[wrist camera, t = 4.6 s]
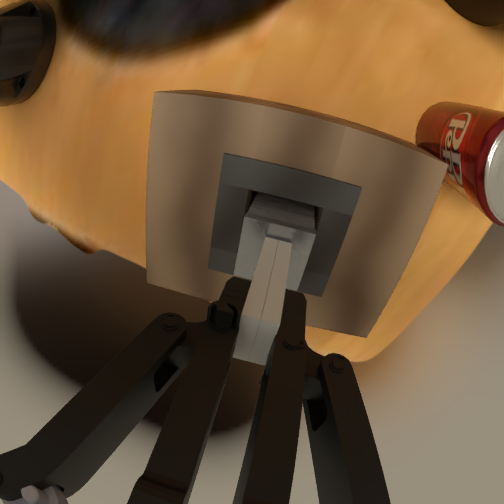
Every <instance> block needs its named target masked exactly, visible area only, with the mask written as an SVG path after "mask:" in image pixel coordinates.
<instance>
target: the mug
mask: <svg viewBox="0 0 504 504" xmlns="http://www.w3.org/2000/svg"><path fill="white" fill-rule="evenodd" d="M446 1H447V2H448V3H449V4H450V5H451V6H452V7H453V8H454V9H455V10H456V11H457V12H459V13H460V14H461V15H463V16H464V17H466V18H467V19H469V20H471V21H473V22H476V23H478V24H481V25H486V26H494V25H499V24H504V0H446Z"/></svg>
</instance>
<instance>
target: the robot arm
mask: <svg viewBox="0 0 504 504" xmlns="http://www.w3.org/2000/svg"><path fill="white" fill-rule="evenodd" d="M55 32H56V25H55V17H54V13H53V11H52V9H51V7H50V6H49V5H48V4H47V3H46V2H44V1H40V0H22V1H19V2H16V3H13V4H10V5H7V6H4V7H1V8H0V106H10V105H14V104H18V103H21V102H23V101H25V100H26V99H27V98H29V97H30V96H31V95H32V94H33V92H34V91H35V90H36V89H37V87H38V86H39V84H40V82H41V81H42V79H43V77H44V75H45V73H46V70H47V68H48V65H49V62H50V59H51V56H52V52H53V48H54V42H55ZM278 241H279V242H278ZM277 245H278V246H277ZM291 247H292V243H288V242H284V241H281V240H277V239H273V238H269V237H265V240H264V244H263V247H262V250H261V253H260V257H259V260H258V263H257V266H256V269H255V273H254V276H253V279H252V281H250V280H246V279H242V278H239V277H235V276H233V277H231V278H230V279H229V280H227V281H226V284H225V286H224V289H223V291H222V293H221V295H220V298H219V300H218V301H215V302H213V303H211V304H210V306H209V307H208V314H207V320H206V321H203V322H198V323H190V322H186V321H185V319H184V318H183V317H182V316H180V315H178V314H175V313H164V314H161V315H159V316H158V317H157V318H156V319H155V320H153V321H152V322H151V323H150V324H149V325H148V326H147V327H146V328H145V329H144V330H143V331H142V332H141V333H140V334H139V335H138V336H137V337H136V338H134V339H133V340H132V341H131V342H130V343H129V344H128V345H127V346H126V347H125V348H124V349H123V350H122V351H121V352H120V353H119V354H118V355H117V356H116V357H114V359H112V360H111V361H110V362H109V363H108V364H107V365H106V366H105V367H104V368H103V369H102V370H101V371H100V372H99V373H98V374H97V375H96V376H95V377H94V378H93V379H92V380H91V381H90V382H89V383H88V384H87V385H85V387H83V388H82V389H81V390H80V391H79V392H78V393H77V394H76V395H75V396H74V397H73V398H72V399H71V400H70V401H69V402H68V403H67V404H66V405H65V406H64V407H63V408H62V409H61V410H60V411H59V412H58V413H57V414H56V415H55V416H54V417H53V418H52V419H51V420H50V421H49V422H48V423H47V424H46V425H45V426H44V427H43V428H42V429H41V430H40V431H39V432H38V433H37V434H36V435H35V436H34V437H33V438H32V439H31V440H30V441H29V442H28V443H27V444H26V445H24V446H21V447H19V448H16V449H14V450H11V451H9V452H6V453H3V454H1V455H0V498H1V499H2V501H3V503H4V504H68V502H67V499H66V498H68V497H70V496H71V495H73V494H74V493H75V492H77V491H78V490H80V489H81V488H82V487H83V486H84V485H85V484H86V483H87V482H88V481H89V479H90V478H91V477H92V476H93V475H94V474H95V473H96V472H97V470H98V469H99V468H100V467H101V466H102V465H103V464H104V462H105V461H106V460H107V459H108V458H109V457H110V455H111V454H112V453H113V452H114V451H115V450H116V448H117V447H118V446H119V445H120V444H121V442H122V441H123V440H124V439H125V438H126V437H127V436H128V434H129V433H130V432H131V431H132V430H133V429H134V427H135V426H136V425H137V424H138V423H139V421H140V420H141V419H142V418H143V416H144V415H145V414H146V413H147V412H148V411H149V410H150V408H151V407H152V406H153V405H154V404H155V402H156V401H157V400H158V399H159V398H160V396H161V395H162V394H163V393H164V392H165V390H166V389H167V388H168V387H169V385H170V384H171V383H172V382H173V381H174V379H175V378H176V377H177V376H178V375H179V373H180V372H181V371H182V370H183V368H187V369H186V371H185V374H184V376H183V378H182V381H181V383H180V386H179V388H178V391H177V393H176V395H175V398H174V400H173V402H172V405H171V407H170V410H169V412H168V415H167V417H166V420H165V422H164V424H163V427H162V429H161V432H160V434H159V437H158V439H157V442H156V444H155V446H154V449H153V451H152V454H151V457H150V459H149V461H148V464H147V467H146V469H145V471H144V473H143V475H142V476H141V477H139V479H138V480H137V482H136V483H135V486H134V488H133V490H132V493H131V495H130V498H129V500H128V503H127V504H188V501H189V498H190V495H191V492H192V488H193V485H194V482H195V479H196V476H197V473H198V469H199V466H200V463H201V460H202V456H203V453H204V450H205V447H206V443H207V440H208V437H209V434H210V430H211V427H212V424H213V421H214V417H215V414H216V410H217V407H218V404H219V401H220V398H221V394H222V391H223V387H224V384H225V381H226V378H227V374H228V371H229V367H230V363H231V359H232V357H234V358H237V359H241V360H245V361H249V362H253V363H257V364H261V365H265V364H266V366H265V370H264V373H263V375H262V378H261V380H260V383H259V384H261V385H260V389H259V394H258V399H257V403H256V408H255V412H254V417H253V421H252V426H251V430H250V434H249V439H248V443H247V447H246V452H245V456H244V460H243V464H242V468H241V472H240V476H239V480H238V484H237V488H236V492H235V496H234V500H233V504H289V499H290V493H291V487H292V480H293V474H294V467H295V460H296V452H297V445H298V437H299V429H300V420H301V410H302V401H303V407H304V413H305V418H306V424H307V429H308V435H309V442H310V448H311V453H312V460H313V466H314V472H315V478H316V483H317V490H318V497H319V504H391V503H390V499H389V495H388V490H387V486H386V482H385V478H384V474H383V470H382V466H381V463H380V459H379V455H378V451H377V448H376V444H375V441H374V437H373V433H372V430H371V426H370V423H369V420H368V416H367V413H366V409H365V406H364V403H363V400H362V396H361V393H360V390H359V387H358V383H357V380H356V377H355V374H354V371H353V368H352V365H351V363H350V361H349V360H348V359H347V358H346V357H344V356H342V355H340V354H336V353H332V354H328V355H326V356H325V357H324V356H322V355H320V354H318V353H316V352H314V351H313V350H311V349H310V348H309V347H308V345H307V343H306V341H305V324H306V308H307V300H306V298H305V296H304V294H303V293H300V292H296V291H292V290H288V289H286V282H287V276H288V269H289V261H290V254H291ZM249 357H250V358H249Z"/></svg>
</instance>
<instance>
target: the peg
mask: <svg viewBox="0 0 504 504" xmlns="http://www.w3.org/2000/svg"><path fill="white" fill-rule="evenodd" d="M315 236H316V230H315V217H314V205H311V204H307V203H303V202H299V201H295V200H291V199H287V198H283V197H279V196H275V195H271V194H267V193H263V192H259V191H258V192H257V194H256V196H255V198H254V200H253V202H252V205H251V207H250V209H249V211H248V213H247V212H246V214H245V216H244V221H243V227H242V232H241V237H240V243H239V248H238V253H237V259H236V264H235V270H234V275H235V276H239V277H243V278H247V279H251V280H252V279H253V276H254V273H255V269H256V266H257V263H258V260H259V257H260V253H261V250H262V247H263V244H264V240H265V237H269V238H273V239H277V240H281V241H284V242H288V243H292V247H291V254H290V261H289V269H288V276H287V282H286V288H287V289H291V290H295V291H297V290H298V287H299V284H300V281H301V278H302V275H303V273H304V270H305V267H306V264H307V261H308V258H309V255H310V252H311V249H312V246H313V243H314V239H315ZM278 242H279V241H278ZM277 246H278V245H277Z"/></svg>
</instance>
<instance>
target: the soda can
mask: <svg viewBox="0 0 504 504" xmlns="http://www.w3.org/2000/svg"><path fill="white" fill-rule="evenodd" d="M417 146H418V147H420V148H421V149H423V150H425V151H427V152H428V153H430V154H432V155H433V156H435V157H437V158H438V159H440V160H442V161H443V162H445V163H447V164H448V168H447V171H446V174H445V177H444V181H446V182H447V183H448V184H449V185H451V186H452V187H453V188H454V189H456V190H457V191H458V192H459V193H460V194H462V195H463V196H464V197H465V198H466V199H468V200H469V201H470V202H471V203H472V204H473V205H475V206H476V207H477V208H478V209H479V210H480V211H481V212H482V213H484V214H485V215H486V216H487V217H488V218H489V219H490V220H491V221H492V222H494V223H495V224H497V225H499V226H503V227H504V112H502V111H498V110H493V109H488V108H484V107H478V106H473V105H467V104H462V103H455V102H439V103H437V104H435V105H433V106H431V107H430V108H428V109H427V111H426V112H425V113H424V114H423V116H422V117H421V119H420V122H419V125H418V128H417Z"/></svg>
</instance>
